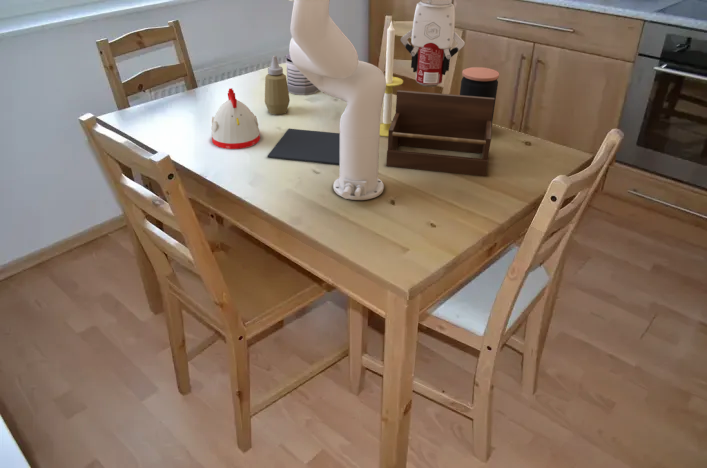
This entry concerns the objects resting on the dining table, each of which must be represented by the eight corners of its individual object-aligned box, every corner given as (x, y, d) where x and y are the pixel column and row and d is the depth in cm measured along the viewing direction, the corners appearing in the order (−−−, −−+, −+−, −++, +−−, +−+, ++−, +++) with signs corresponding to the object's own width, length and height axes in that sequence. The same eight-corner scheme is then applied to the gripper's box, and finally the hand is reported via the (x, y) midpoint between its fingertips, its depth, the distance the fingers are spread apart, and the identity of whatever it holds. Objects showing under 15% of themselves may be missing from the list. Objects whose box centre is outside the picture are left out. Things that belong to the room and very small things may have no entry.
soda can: (440, 88, 148) (445, 40, 141) (413, 86, 149) (417, 38, 142) (442, 81, 153) (447, 33, 147) (417, 78, 154) (421, 31, 148)
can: (290, 83, 214) (288, 50, 208) (321, 85, 214) (320, 52, 207) (284, 94, 205) (282, 60, 198) (316, 95, 204) (315, 61, 198)
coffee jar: (497, 130, 180) (506, 72, 170) (478, 140, 173) (486, 80, 163) (468, 121, 186) (475, 64, 176) (448, 130, 179) (455, 72, 169)
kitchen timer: (217, 151, 164) (210, 100, 156) (208, 133, 175) (201, 84, 167) (265, 144, 168) (261, 94, 160) (253, 127, 179) (249, 79, 171)
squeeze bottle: (295, 110, 192) (292, 55, 182) (279, 118, 186) (276, 61, 176) (276, 105, 195) (272, 51, 186) (260, 113, 189) (255, 57, 180)
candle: (408, 134, 176) (415, 22, 159) (377, 138, 173) (381, 25, 156) (395, 122, 184) (400, 14, 167) (365, 126, 181) (368, 17, 164)
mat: (352, 166, 157) (352, 164, 157) (267, 157, 161) (267, 155, 161) (366, 137, 174) (366, 135, 173) (288, 130, 178) (288, 128, 177)
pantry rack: (485, 176, 153) (494, 118, 145) (386, 166, 158) (388, 109, 149) (486, 152, 166) (494, 97, 157) (394, 143, 170) (397, 90, 162)
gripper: (398, -2, 138) (393, 73, 148) (472, 3, 135) (462, 79, 145) (402, -7, 145) (398, 65, 154) (473, -3, 142) (464, 71, 151)
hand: (429, 71), depth 149 cm, fingers closed on soda can, 6 cm apart
